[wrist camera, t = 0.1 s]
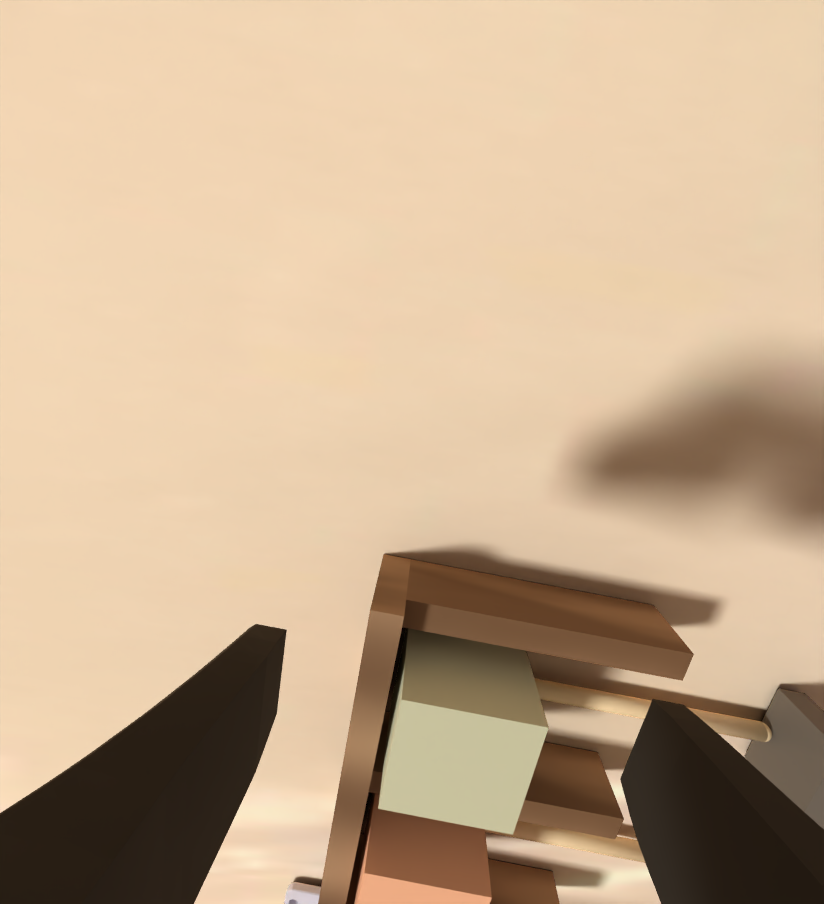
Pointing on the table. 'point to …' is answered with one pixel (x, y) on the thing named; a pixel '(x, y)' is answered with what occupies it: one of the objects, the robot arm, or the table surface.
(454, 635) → the walnut lane rack
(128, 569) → the table surface
